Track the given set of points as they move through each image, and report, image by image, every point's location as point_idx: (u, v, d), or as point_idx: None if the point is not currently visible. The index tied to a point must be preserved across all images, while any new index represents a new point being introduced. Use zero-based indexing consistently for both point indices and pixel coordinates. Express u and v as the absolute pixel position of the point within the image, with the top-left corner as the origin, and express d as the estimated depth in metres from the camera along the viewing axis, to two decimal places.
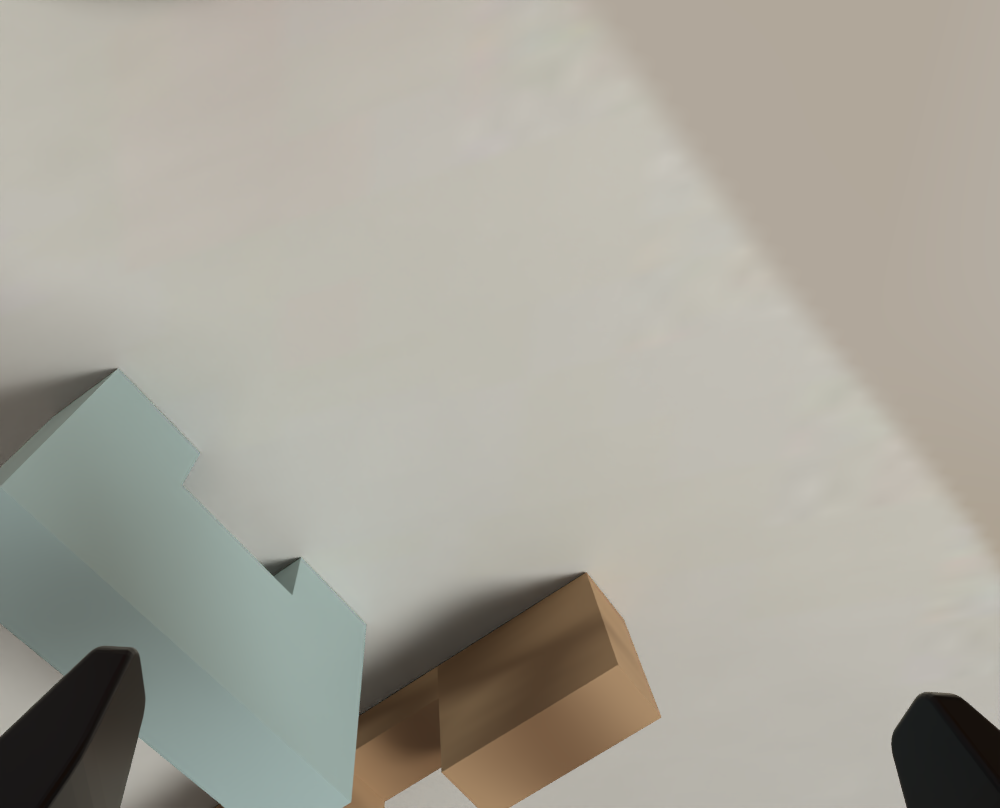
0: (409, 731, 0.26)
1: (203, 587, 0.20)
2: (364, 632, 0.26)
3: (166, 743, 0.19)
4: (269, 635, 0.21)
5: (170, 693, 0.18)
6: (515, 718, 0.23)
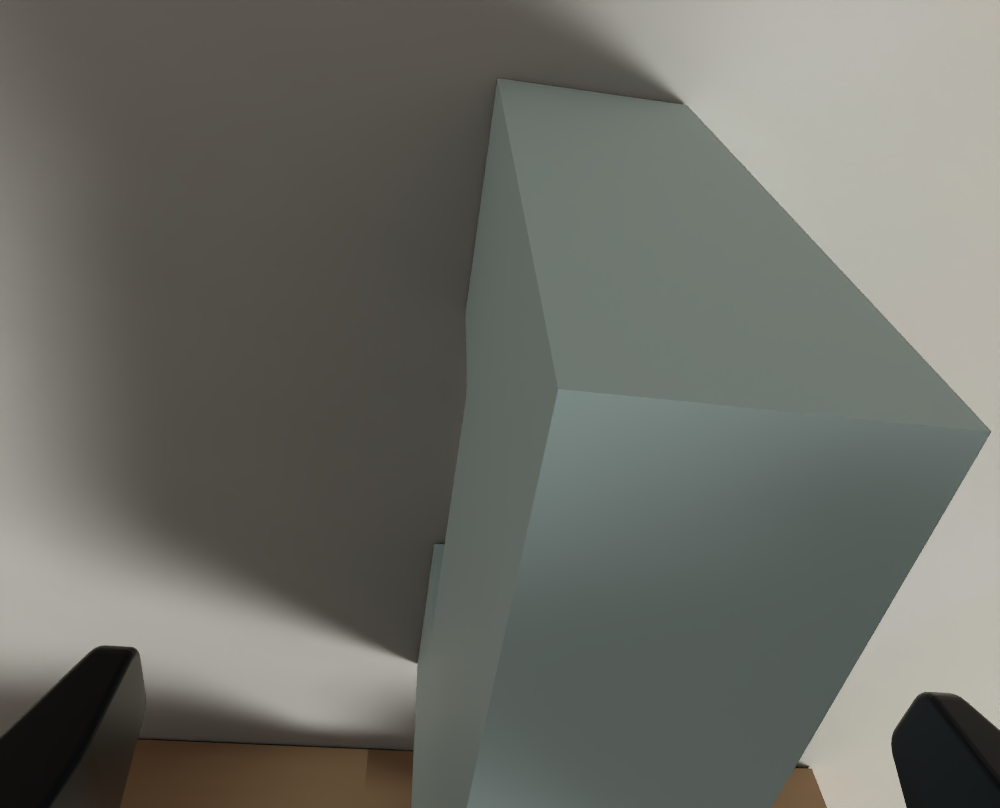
0: None
1: None
2: None
3: None
4: None
5: None
6: None
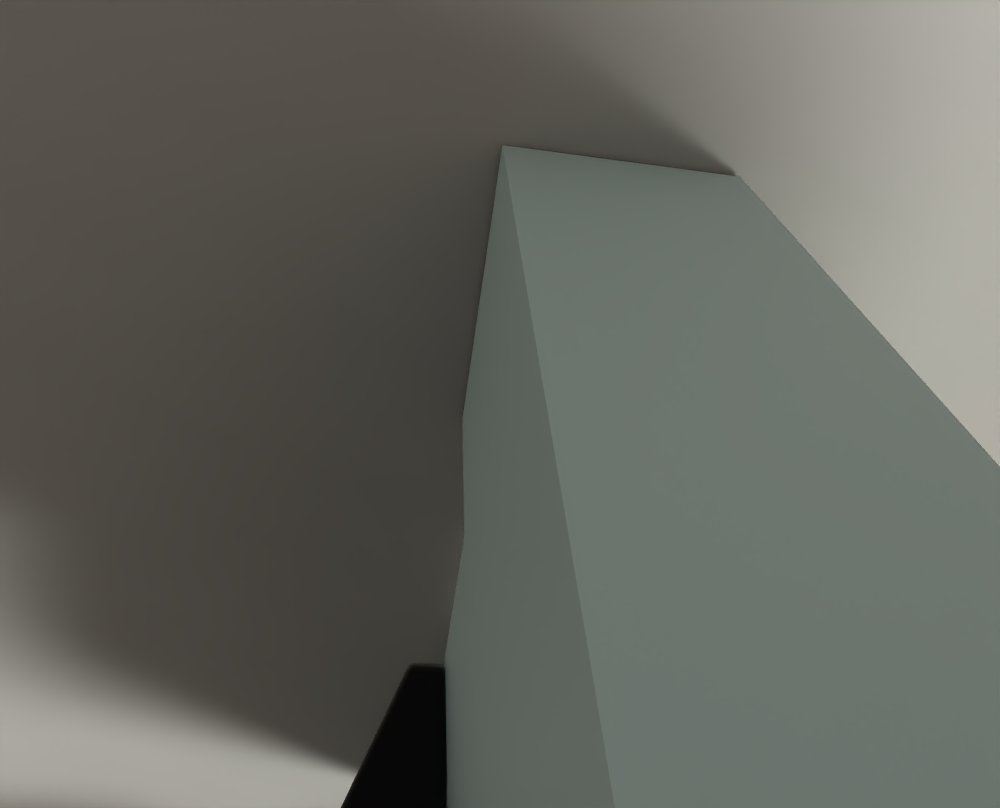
0: None
1: None
2: None
3: None
4: None
5: None
6: None
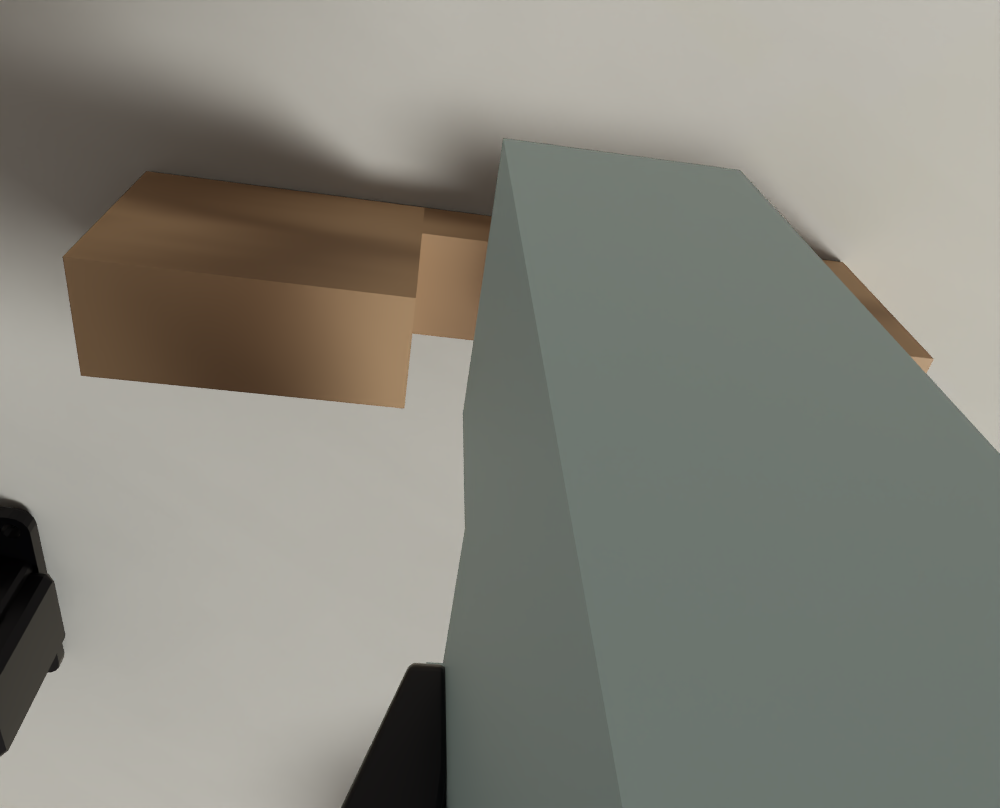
0: None
1: None
2: None
3: None
4: None
5: None
6: None
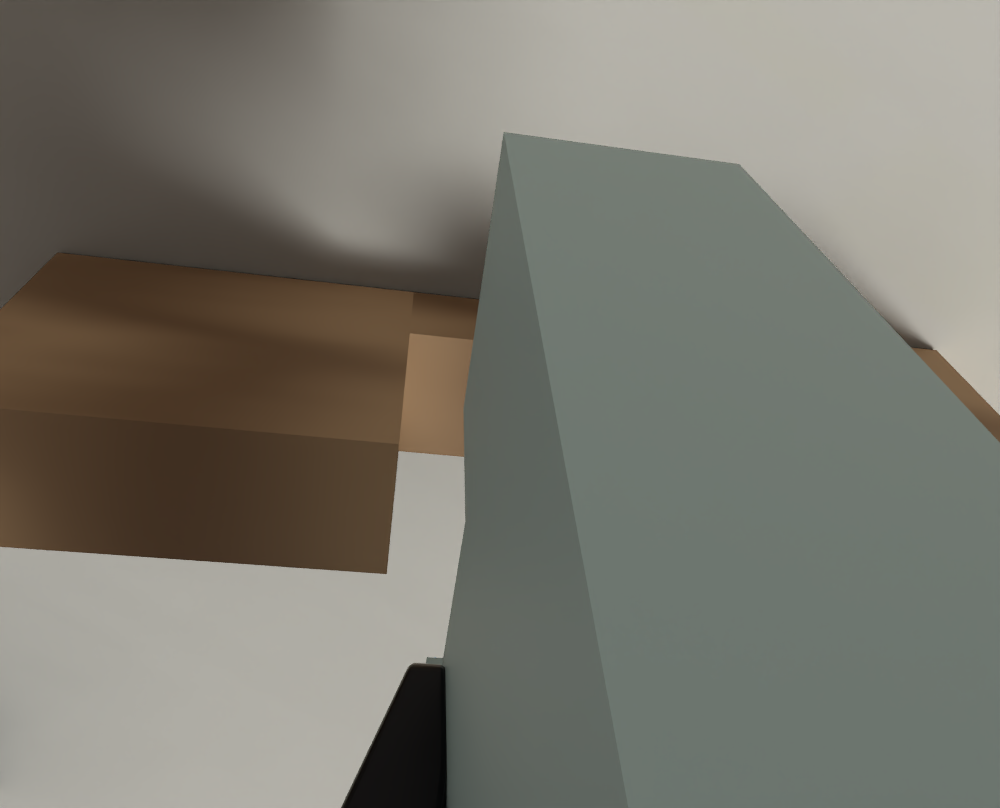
0: None
1: None
2: None
3: None
4: None
5: None
6: None
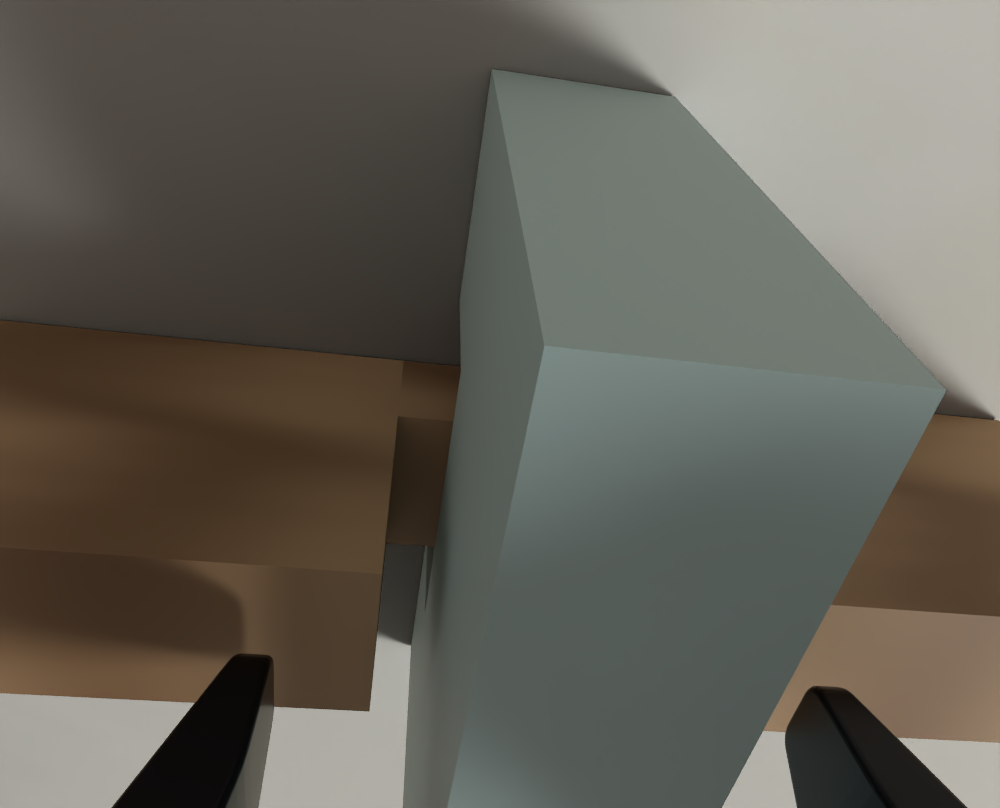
0: None
1: None
2: None
3: None
4: None
5: None
6: (931, 592, 0.10)
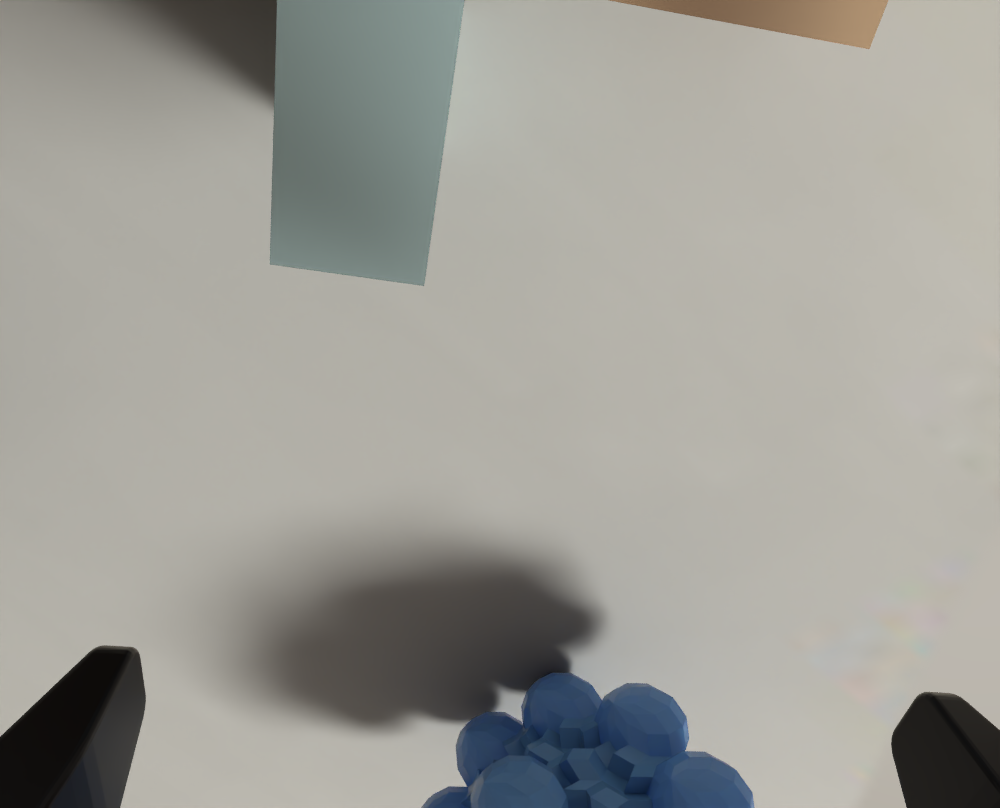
0: None
1: None
2: None
3: None
4: None
5: None
6: None
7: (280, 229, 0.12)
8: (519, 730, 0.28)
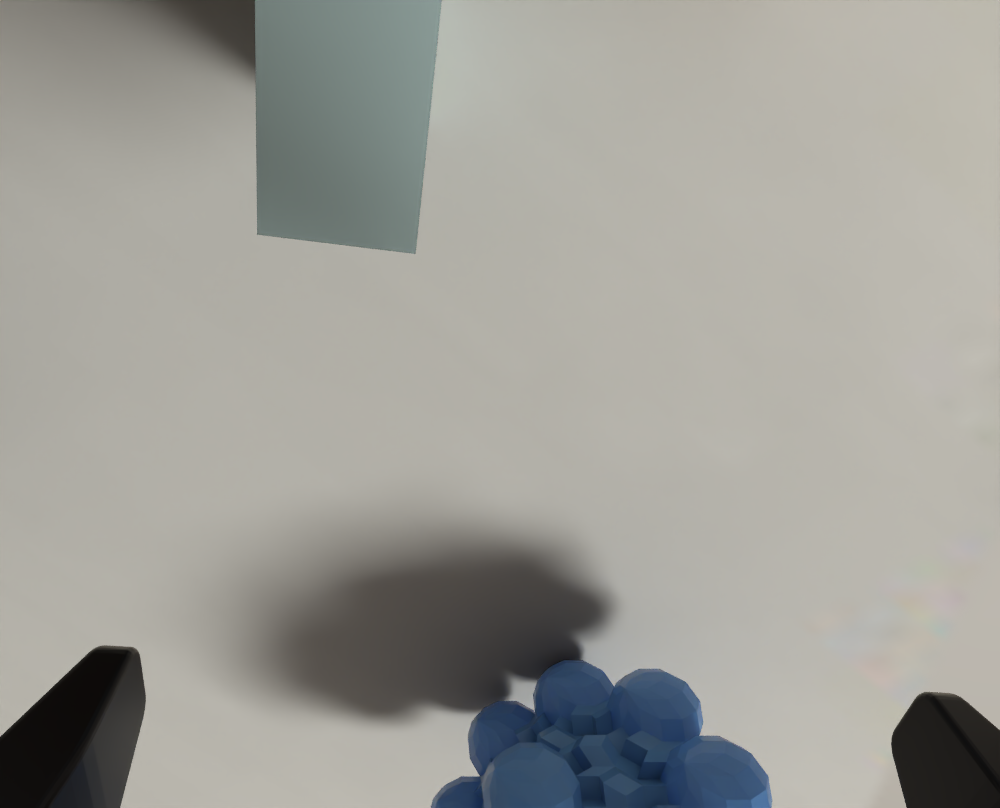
0: None
1: None
2: None
3: None
4: None
5: None
6: None
7: (266, 197, 0.12)
8: (531, 718, 0.28)
